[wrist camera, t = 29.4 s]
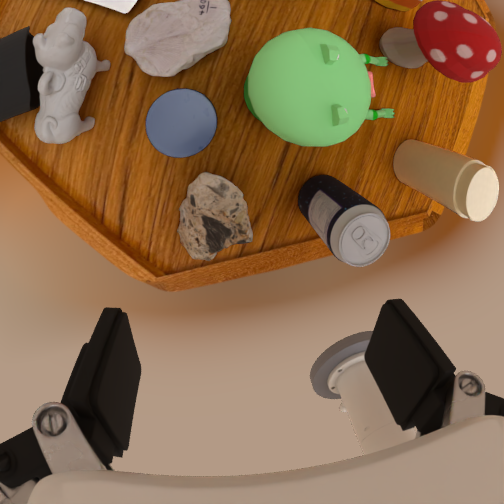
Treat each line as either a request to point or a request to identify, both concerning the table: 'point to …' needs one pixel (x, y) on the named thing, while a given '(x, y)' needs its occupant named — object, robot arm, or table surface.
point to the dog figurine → (64, 77)
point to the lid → (181, 123)
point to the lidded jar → (448, 178)
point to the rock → (213, 217)
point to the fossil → (177, 34)
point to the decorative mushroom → (445, 42)
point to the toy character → (312, 87)
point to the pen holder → (18, 74)
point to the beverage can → (344, 220)
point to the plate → (116, 4)
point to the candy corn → (399, 4)
